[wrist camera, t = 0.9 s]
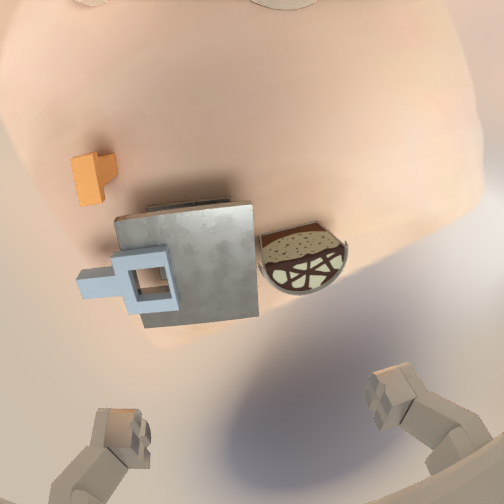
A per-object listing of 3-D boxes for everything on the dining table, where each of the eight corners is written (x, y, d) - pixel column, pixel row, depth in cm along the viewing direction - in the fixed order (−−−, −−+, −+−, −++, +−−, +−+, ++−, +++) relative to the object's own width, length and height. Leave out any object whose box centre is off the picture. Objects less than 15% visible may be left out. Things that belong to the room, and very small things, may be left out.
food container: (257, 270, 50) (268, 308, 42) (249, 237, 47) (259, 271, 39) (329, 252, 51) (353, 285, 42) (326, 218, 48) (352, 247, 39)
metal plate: (131, 195, 42) (113, 221, 33) (242, 181, 43) (252, 204, 34) (153, 287, 49) (144, 328, 41) (249, 277, 51) (258, 316, 42)
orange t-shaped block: (93, 147, 37) (70, 159, 30) (113, 142, 38) (92, 154, 30) (101, 186, 40) (80, 206, 33) (119, 183, 41) (102, 203, 33)
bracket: (75, 251, 35) (67, 263, 33) (168, 239, 37) (165, 251, 34) (94, 304, 39) (88, 317, 37) (180, 296, 41) (179, 310, 38)
